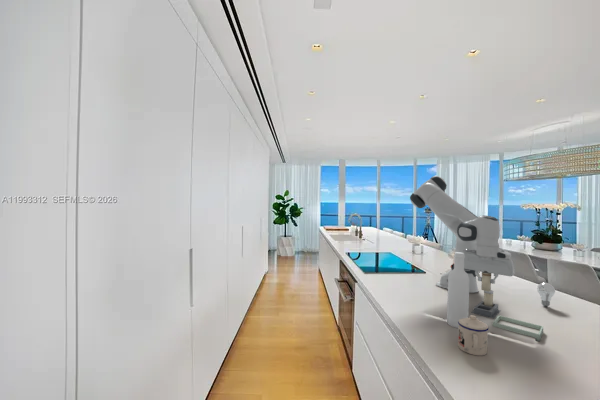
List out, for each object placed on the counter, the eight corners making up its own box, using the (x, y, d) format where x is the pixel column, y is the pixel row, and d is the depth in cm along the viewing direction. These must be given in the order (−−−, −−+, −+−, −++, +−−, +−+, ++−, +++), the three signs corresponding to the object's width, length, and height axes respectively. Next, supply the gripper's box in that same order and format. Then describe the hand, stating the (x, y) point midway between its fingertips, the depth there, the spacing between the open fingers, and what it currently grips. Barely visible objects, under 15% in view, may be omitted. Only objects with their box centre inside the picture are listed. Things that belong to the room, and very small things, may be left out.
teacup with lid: (456, 341, 108) (457, 309, 108) (484, 346, 105) (485, 313, 105) (459, 356, 97) (460, 321, 97) (492, 363, 94) (493, 326, 94)
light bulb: (557, 309, 144) (558, 285, 144) (541, 308, 146) (542, 284, 146) (549, 304, 151) (549, 281, 151) (533, 303, 153) (534, 280, 153)
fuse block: (470, 314, 135) (470, 306, 135) (479, 307, 145) (479, 300, 145) (493, 320, 128) (494, 312, 128) (501, 312, 138) (501, 305, 138)
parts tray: (492, 328, 120) (492, 322, 120) (498, 320, 128) (498, 315, 128) (539, 341, 110) (539, 334, 110) (543, 332, 118) (543, 326, 118)
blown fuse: (480, 289, 134) (480, 270, 134) (482, 288, 136) (483, 268, 136) (489, 291, 131) (490, 271, 131) (491, 290, 134) (492, 270, 134)
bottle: (442, 322, 125) (444, 251, 125) (456, 319, 128) (458, 250, 128) (458, 330, 118) (460, 254, 118) (472, 327, 121) (475, 254, 121)
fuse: (482, 309, 139) (483, 290, 139) (484, 307, 142) (485, 288, 141) (491, 311, 136) (492, 292, 136) (493, 309, 139) (494, 290, 139)
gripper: (460, 249, 139) (459, 278, 139) (513, 255, 124) (512, 288, 125) (464, 247, 143) (463, 276, 143) (515, 254, 129) (514, 285, 129)
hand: (486, 282), depth 134 cm, fingers closed on blown fuse, 4 cm apart
